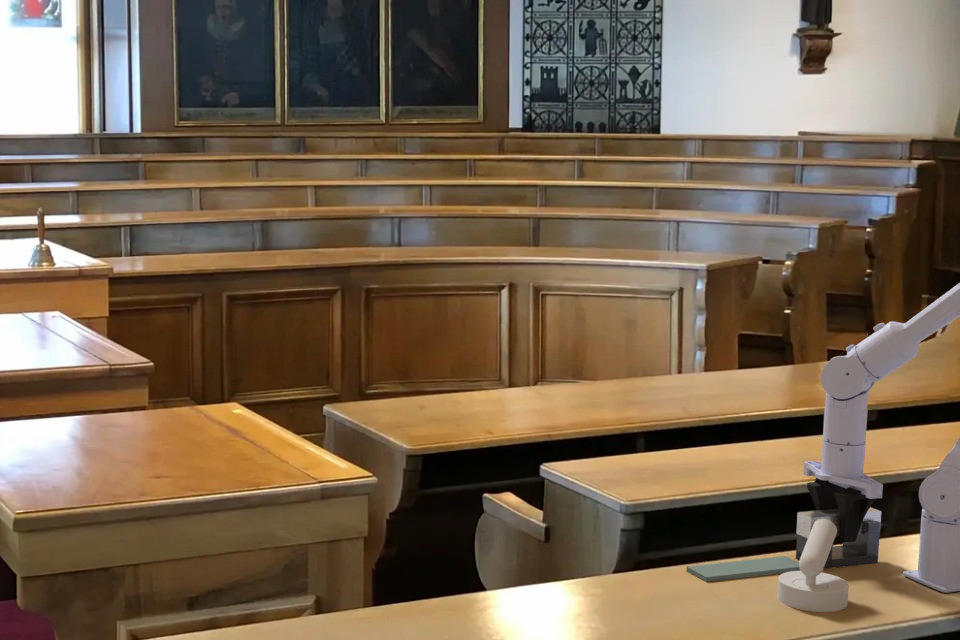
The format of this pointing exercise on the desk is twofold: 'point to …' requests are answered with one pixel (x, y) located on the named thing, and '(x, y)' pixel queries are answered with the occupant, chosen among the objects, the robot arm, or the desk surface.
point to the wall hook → (814, 575)
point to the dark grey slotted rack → (851, 548)
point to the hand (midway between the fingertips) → (838, 537)
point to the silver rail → (808, 519)
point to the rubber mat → (744, 568)
